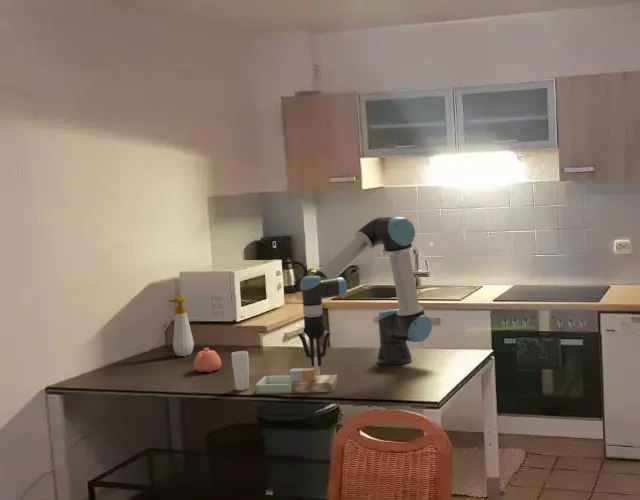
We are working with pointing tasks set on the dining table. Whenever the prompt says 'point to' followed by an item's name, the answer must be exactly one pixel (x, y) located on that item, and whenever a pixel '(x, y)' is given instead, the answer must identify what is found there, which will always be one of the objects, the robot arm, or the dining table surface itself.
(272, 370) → the dining table surface
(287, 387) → the tray
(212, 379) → the dining table surface
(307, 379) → the salmon pink block
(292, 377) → the tile grey
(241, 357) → the drinking glass
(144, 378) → the dining table surface
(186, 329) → the soap bottle
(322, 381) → the board
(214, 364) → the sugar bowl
